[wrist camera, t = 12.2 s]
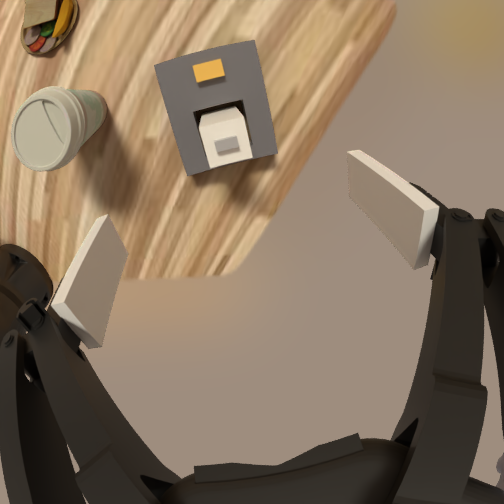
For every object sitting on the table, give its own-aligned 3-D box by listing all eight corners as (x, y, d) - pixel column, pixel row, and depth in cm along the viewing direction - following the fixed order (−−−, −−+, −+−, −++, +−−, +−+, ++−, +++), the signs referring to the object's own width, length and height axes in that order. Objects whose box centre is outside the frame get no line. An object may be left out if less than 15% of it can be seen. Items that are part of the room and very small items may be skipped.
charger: (210, 143, 33) (210, 170, 24) (202, 113, 31) (198, 129, 22) (241, 135, 33) (253, 159, 24) (234, 105, 30) (244, 117, 22)
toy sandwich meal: (18, 57, 20) (3, 59, 17) (35, -7, 14) (22, -10, 11) (70, 51, 22) (57, 51, 19) (90, -17, 17) (80, -23, 14)
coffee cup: (114, 144, 31) (76, 178, 21) (59, 143, 29) (10, 176, 19) (121, 79, 26) (79, 85, 16) (62, 81, 24) (7, 93, 14)
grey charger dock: (189, 168, 34) (186, 178, 31) (158, 66, 26) (152, 65, 23) (272, 147, 34) (279, 155, 31) (250, 42, 26) (255, 39, 23)
